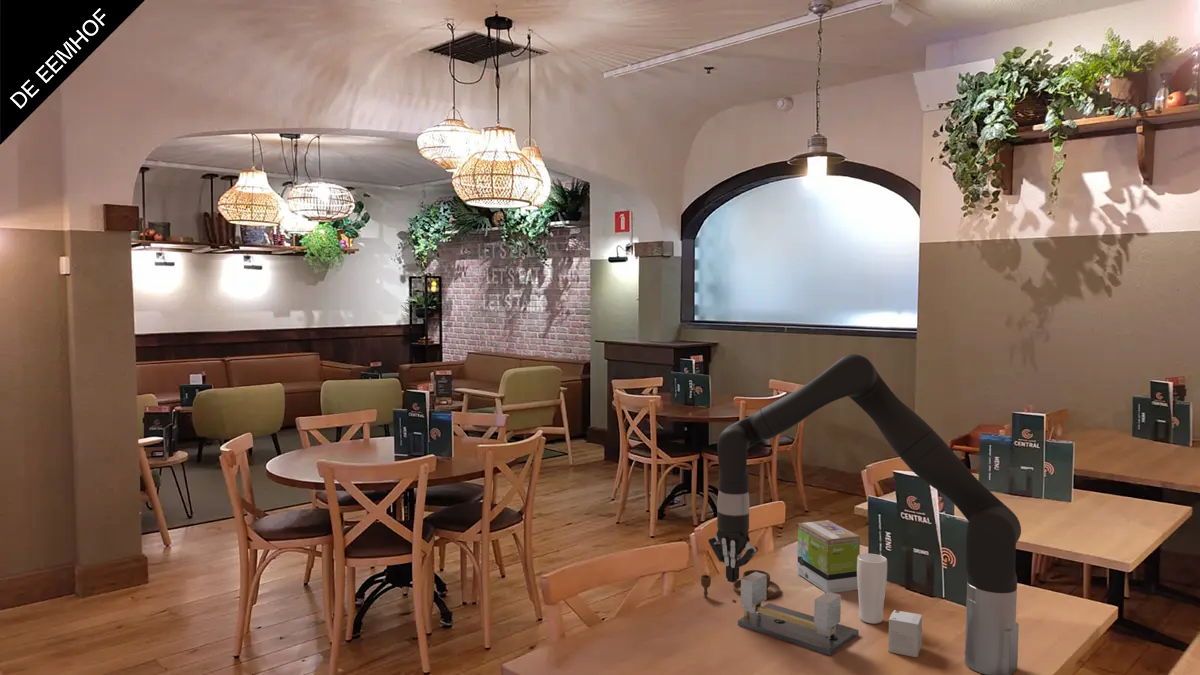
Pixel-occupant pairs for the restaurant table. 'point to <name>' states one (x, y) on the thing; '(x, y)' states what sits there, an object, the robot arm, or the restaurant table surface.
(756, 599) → the block
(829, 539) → the tea box
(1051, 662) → the restaurant table surface
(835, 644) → the bolt-hole plate
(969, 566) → the robot arm
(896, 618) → the skincare box
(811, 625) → the beam
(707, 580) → the place setting
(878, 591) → the drinking glass
